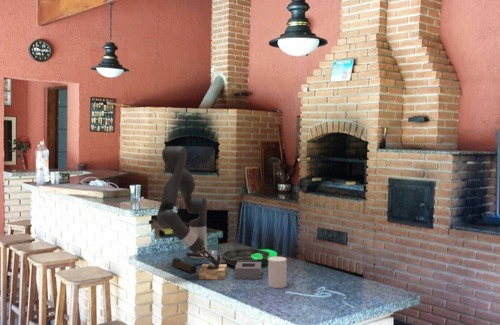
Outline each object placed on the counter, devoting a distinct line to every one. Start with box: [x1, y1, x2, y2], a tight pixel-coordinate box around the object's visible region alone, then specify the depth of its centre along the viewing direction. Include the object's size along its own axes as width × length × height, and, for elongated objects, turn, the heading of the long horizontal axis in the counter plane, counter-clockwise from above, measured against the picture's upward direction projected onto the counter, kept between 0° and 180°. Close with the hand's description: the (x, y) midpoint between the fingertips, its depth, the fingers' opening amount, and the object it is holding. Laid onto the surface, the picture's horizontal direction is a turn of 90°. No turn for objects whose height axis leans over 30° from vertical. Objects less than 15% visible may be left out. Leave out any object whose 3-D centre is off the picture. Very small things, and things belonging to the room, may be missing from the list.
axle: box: [208, 249, 218, 269], centre depth 243 cm, size 4×4×12 cm
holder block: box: [234, 262, 262, 280], centre depth 243 cm, size 12×12×5 cm
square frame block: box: [198, 263, 228, 280], centre depth 243 cm, size 12×12×4 cm
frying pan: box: [185, 248, 271, 267], centre depth 264 cm, size 44×25×7 cm, turn 95°
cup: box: [267, 256, 288, 289], centre depth 227 cm, size 8×8×12 cm
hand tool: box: [171, 257, 197, 274], centre depth 255 cm, size 19×4×5 cm, turn 38°
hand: (217, 263), depth 243 cm, fingers closed on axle, 4 cm apart
